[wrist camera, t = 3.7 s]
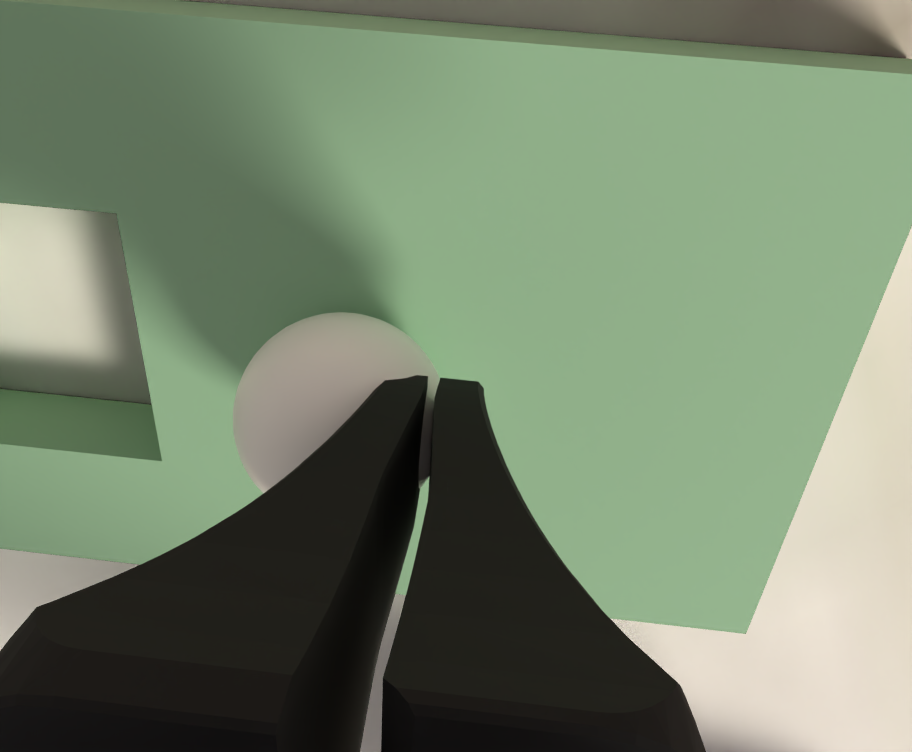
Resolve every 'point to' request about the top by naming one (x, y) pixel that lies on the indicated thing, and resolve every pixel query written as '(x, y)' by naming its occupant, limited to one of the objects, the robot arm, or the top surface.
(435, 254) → the green holed board
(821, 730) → the top surface
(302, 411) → the ball
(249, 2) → the top surface
